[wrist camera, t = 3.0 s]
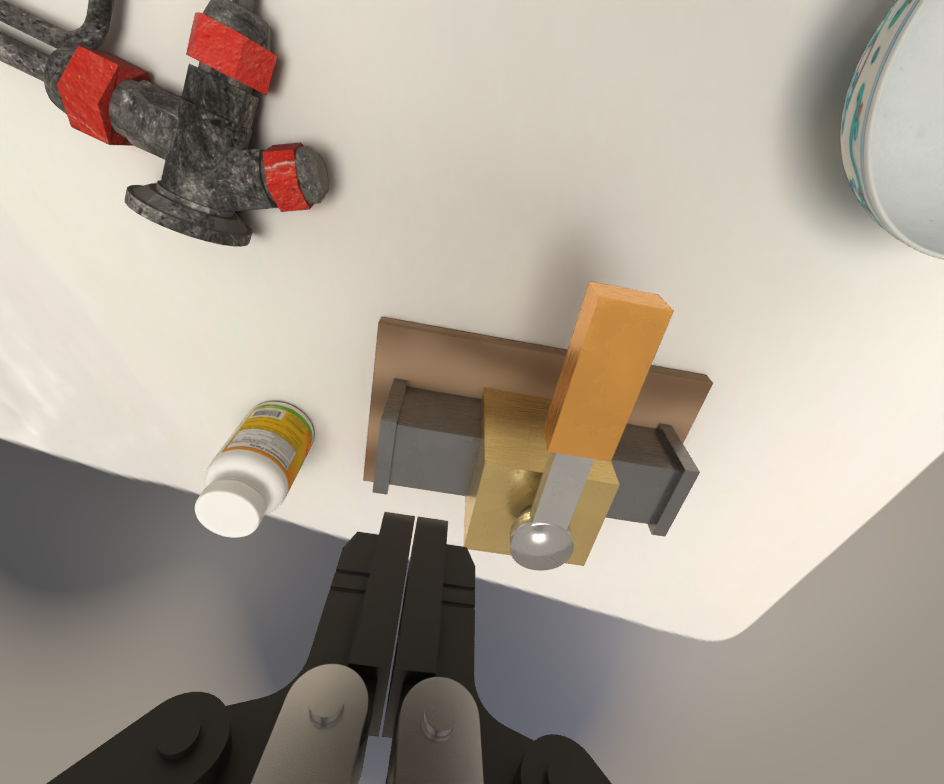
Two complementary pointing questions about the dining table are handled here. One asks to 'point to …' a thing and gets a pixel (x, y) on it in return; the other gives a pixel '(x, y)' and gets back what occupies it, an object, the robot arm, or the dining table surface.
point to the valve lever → (589, 412)
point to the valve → (178, 117)
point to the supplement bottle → (254, 469)
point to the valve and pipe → (522, 464)
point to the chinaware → (900, 126)
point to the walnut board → (506, 375)
